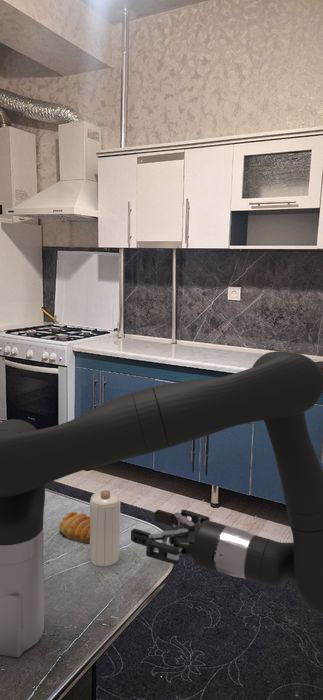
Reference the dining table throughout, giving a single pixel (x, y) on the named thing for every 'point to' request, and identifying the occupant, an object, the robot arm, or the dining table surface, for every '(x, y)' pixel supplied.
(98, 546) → the ribbed lidded canister
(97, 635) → the dining table surface
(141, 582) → the dining table surface
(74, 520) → the pastry
